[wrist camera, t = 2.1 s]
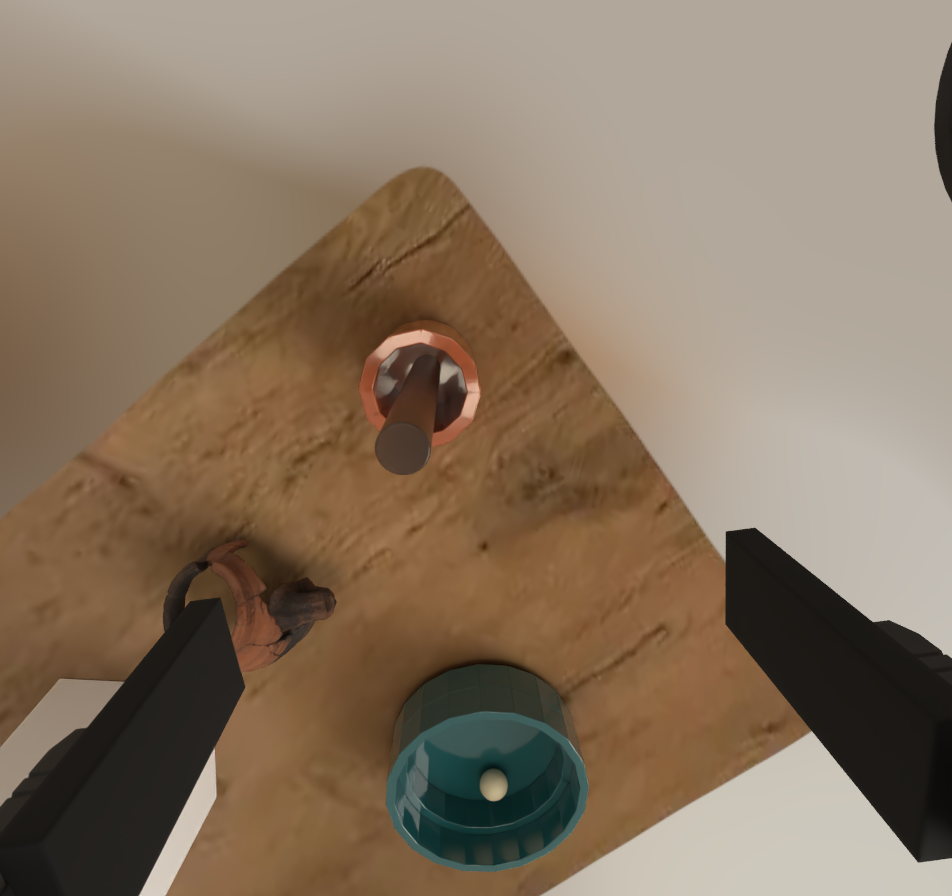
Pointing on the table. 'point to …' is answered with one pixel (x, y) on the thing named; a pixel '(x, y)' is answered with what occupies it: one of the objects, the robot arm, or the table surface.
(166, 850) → the milk
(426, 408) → the stirring stick
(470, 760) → the bowl
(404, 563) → the table surface
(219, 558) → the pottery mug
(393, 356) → the crock
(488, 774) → the bead
